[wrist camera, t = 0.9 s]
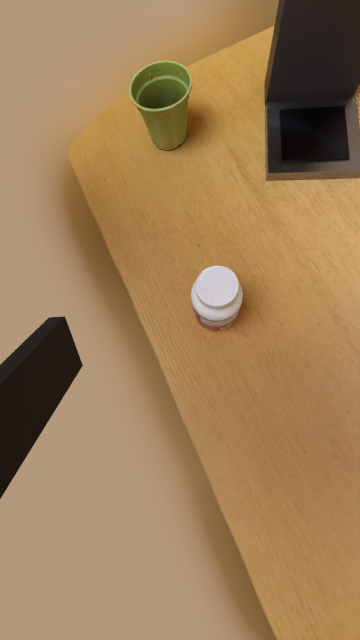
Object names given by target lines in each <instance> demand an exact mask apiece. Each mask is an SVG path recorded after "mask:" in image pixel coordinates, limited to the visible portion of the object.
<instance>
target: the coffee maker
mask: <svg viewBox="0 0 360 640" xmlns="http://www.w3.org/2000/svg"><path fill="white" fill-rule="evenodd" d="M359 83H360V0H279V4H278V10H277V16H276V22H275V27H274V33H273V39H272V45H271V50H270V56H269V62H268V67H267V73H266V79H265V106H266V103H269V102H284V101H300V100H316V99H332V98H347V97H353V96H354V94H355V92H356V90H357V88H358V86H359Z"/></svg>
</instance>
